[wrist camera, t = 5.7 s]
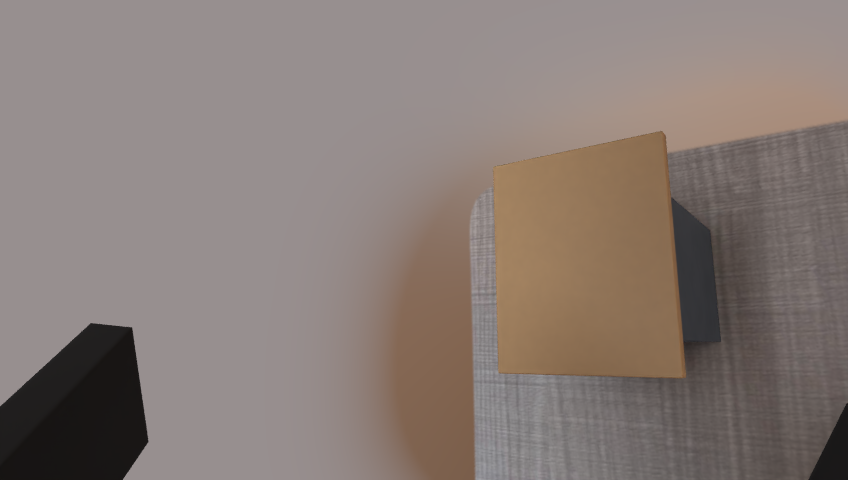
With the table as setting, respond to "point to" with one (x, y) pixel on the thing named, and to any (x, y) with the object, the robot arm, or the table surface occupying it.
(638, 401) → the table surface
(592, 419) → the table surface
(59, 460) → the robot arm
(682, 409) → the table surface
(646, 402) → the table surface
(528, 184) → the stand
